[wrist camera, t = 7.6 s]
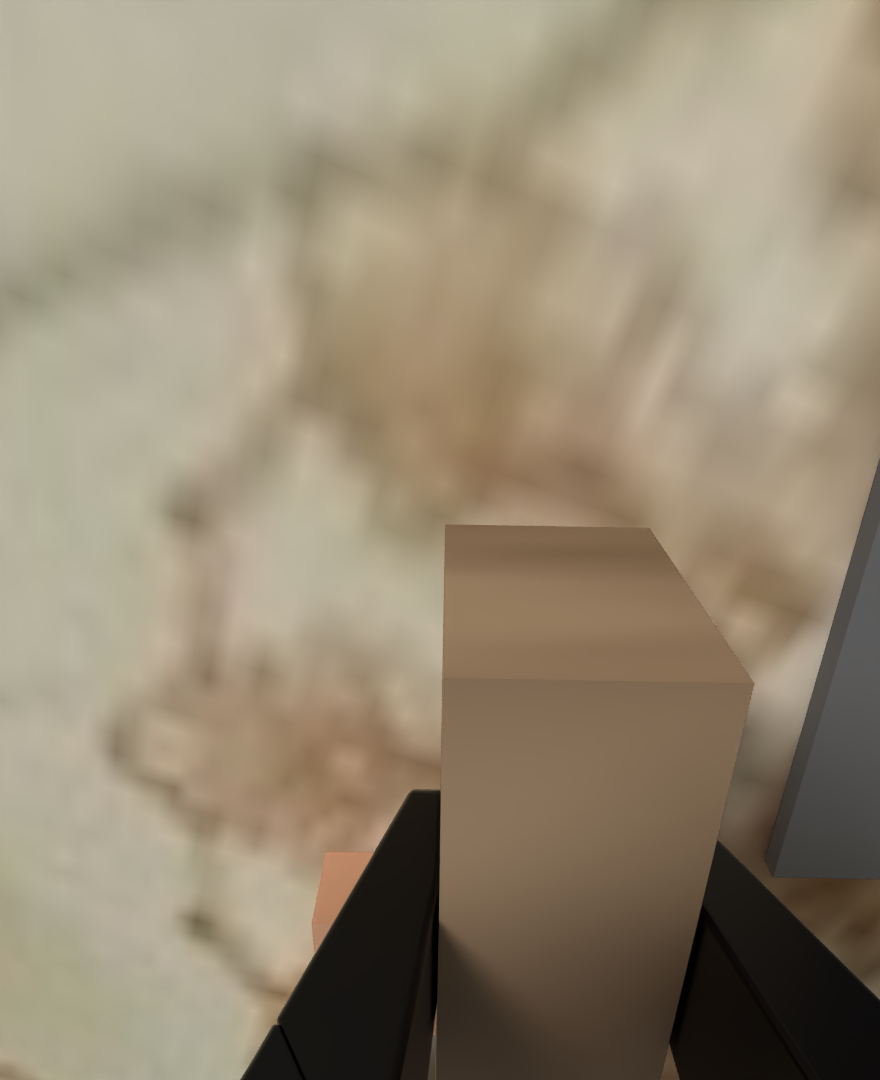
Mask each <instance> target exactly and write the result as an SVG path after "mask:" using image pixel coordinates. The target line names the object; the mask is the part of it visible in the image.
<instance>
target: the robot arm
mask: <svg viewBox="0 0 880 1080" xmlns="http://www.w3.org/2000/svg"><path fill="white" fill-rule="evenodd" d="M440 804H441V791H440V790H430V789H414V790H412V791H411V792H410V793H409V794H408V795H407V797H406V799H405V801H404V802H403V804H402V806H401V807H400V809H399V811H398V812H397V814H396V816H395V818H394V819H393V821H392V823H391V824H390V826H389V828H388V830H387V831H386V833H385V835H384V836H383V838H382V840H381V842H380V843H379V845H378V847H377V848H376V850H375V852H374V854H373V855H372V857H371V859H370V860H369V862H368V864H367V866H366V867H365V869H364V871H363V872H362V874H361V876H360V878H359V879H358V881H357V883H356V884H355V886H354V888H353V890H352V891H351V893H350V895H349V896H348V898H347V900H346V902H345V903H344V905H343V907H342V908H341V910H340V912H339V913H338V915H337V917H336V919H335V920H334V922H333V924H332V925H331V927H330V929H329V931H328V932H327V934H326V936H325V937H324V939H323V941H322V943H321V944H320V946H319V948H318V949H317V951H316V953H315V955H314V956H313V958H312V960H311V961H310V963H309V965H308V967H307V968H306V970H305V972H304V973H303V975H302V977H301V979H300V980H299V982H298V984H297V985H296V987H295V989H294V991H293V992H292V994H291V996H290V997H289V999H288V1001H287V1003H286V1004H285V1006H284V1008H283V1009H282V1011H281V1013H280V1014H279V1016H278V1018H277V1024H278V1025H273V1026H272V1028H271V1029H270V1031H269V1033H268V1034H267V1036H266V1038H265V1040H264V1041H263V1043H262V1045H261V1046H260V1048H259V1050H258V1051H257V1053H256V1055H255V1057H254V1058H253V1060H252V1062H251V1063H250V1065H249V1066H248V1068H247V1070H246V1071H245V1073H244V1074H243V1076H242V1078H241V1079H240V1080H427V1079H428V1071H429V1063H430V1055H431V1047H432V1039H433V1031H434V1023H435V1016H436V1008H437V988H438V936H439V884H440ZM669 1044H670V1047H671V1051H672V1054H673V1058H674V1061H675V1065H676V1068H677V1072H678V1075H679V1079H680V1080H880V1000H879V999H878V998H877V997H876V996H875V995H874V994H873V993H872V992H871V991H870V990H869V989H868V988H867V987H866V986H865V985H864V984H863V983H862V982H861V981H860V980H859V979H858V978H857V977H856V976H855V975H854V974H853V973H852V972H851V971H850V970H849V969H848V968H847V967H846V966H845V965H844V964H843V963H842V962H841V961H840V960H839V959H838V958H837V957H836V956H835V955H834V954H833V953H832V952H831V951H830V950H829V949H828V948H827V947H826V946H825V945H824V944H823V943H822V942H821V941H820V940H819V939H818V938H816V937H815V936H814V935H813V934H812V933H811V932H810V931H809V930H808V929H807V928H806V927H805V926H804V925H803V924H802V923H801V922H800V921H799V920H798V919H797V918H796V917H795V916H794V915H793V914H792V913H791V912H790V911H789V910H788V909H787V908H786V907H785V906H784V905H783V904H782V903H781V902H780V901H779V900H778V899H777V898H776V897H775V896H774V895H773V894H772V893H771V892H770V891H769V890H768V889H767V888H766V887H765V886H764V885H763V884H762V883H761V882H760V881H759V880H758V879H757V878H756V877H755V876H754V875H753V874H752V873H751V872H750V871H749V870H748V869H747V868H746V867H745V866H744V865H743V864H742V863H741V862H740V861H739V860H738V859H737V858H736V857H735V856H734V855H733V854H732V853H731V852H730V851H729V850H728V849H727V848H725V847H724V846H723V845H722V844H721V843H720V842H719V841H718V840H717V842H716V847H715V851H714V855H713V859H712V864H711V868H710V872H709V876H708V880H707V885H706V889H705V893H704V897H703V901H702V906H701V910H700V914H699V918H698V922H697V927H696V931H695V935H694V939H693V944H692V948H691V952H690V956H689V960H688V965H687V969H686V973H685V977H684V981H683V986H682V990H681V994H680V998H679V1002H678V1007H677V1011H676V1015H675V1019H674V1024H673V1028H672V1032H671V1036H670V1040H669Z"/></svg>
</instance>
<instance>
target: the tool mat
mask: <svg viewBox="0 0 880 1080" xmlns="http://www.w3.org/2000/svg"><path fill="white" fill-rule="evenodd" d="M765 862H766V864H767V866H768V868H769V870H770V872H771V874H772V876H773V877H785V878H841V879H880V461H879V465H878V468H877V472H876V475H875V479H874V482H873V486H872V489H871V492H870V496H869V499H868V503H867V506H866V510H865V513H864V517H863V520H862V524H861V527H860V531H859V534H858V538H857V541H856V545H855V548H854V552H853V555H852V559H851V562H850V566H849V569H848V573H847V576H846V579H845V583H844V586H843V590H842V593H841V597H840V600H839V604H838V607H837V611H836V614H835V618H834V621H833V625H832V628H831V632H830V635H829V639H828V642H827V646H826V649H825V653H824V656H823V660H822V663H821V666H820V670H819V673H818V677H817V680H816V684H815V687H814V691H813V694H812V698H811V701H810V705H809V708H808V712H807V715H806V719H805V722H804V726H803V729H802V733H801V736H800V740H799V743H798V747H797V750H796V753H795V757H794V760H793V764H792V767H791V771H790V774H789V778H788V781H787V785H786V788H785V792H784V795H783V799H782V802H781V806H780V809H779V813H778V816H777V820H776V823H775V827H774V830H773V833H772V837H771V840H770V844H769V847H768V851H767V854H766V858H765Z"/></svg>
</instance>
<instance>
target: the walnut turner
mask: <svg viewBox="0 0 880 1080" xmlns="http://www.w3.org/2000/svg"><path fill="white" fill-rule="evenodd" d="M753 687H754V682H753V681H752V679H751V678H750V676H749V675H748V673H747V672H746V670H745V669H744V667H743V666H742V664H741V663H740V661H739V660H738V658H737V657H736V655H735V654H734V653H733V651H732V650H731V648H730V647H729V645H728V644H727V642H726V641H725V639H724V638H723V636H722V635H721V633H720V632H719V630H718V629H717V627H716V626H715V624H714V623H713V621H712V620H711V618H710V617H709V616H708V614H707V613H706V611H705V610H704V608H703V607H702V605H701V604H700V602H699V601H698V599H697V598H696V596H695V595H694V593H693V592H692V590H691V589H690V587H689V586H688V584H687V583H686V581H685V580H684V579H683V577H682V576H681V574H680V573H679V571H678V570H677V568H676V567H675V565H674V564H673V562H672V561H671V559H670V558H669V556H668V555H667V553H666V552H665V550H664V549H663V547H662V546H661V544H660V543H659V542H658V540H657V539H656V537H655V536H654V534H653V533H652V531H651V530H650V528H614V527H555V526H497V525H445V567H444V621H443V674H442V728H441V782H440V791H441V804H440V884H439V936H438V988H437V1008H436V1035H433V1039H432V1047H431V1055H430V1063H429V1071H428V1079H427V1080H660V1078H661V1074H662V1070H663V1066H664V1061H665V1057H666V1053H667V1049H668V1045H669V1040H670V1036H671V1032H672V1028H673V1024H674V1019H675V1015H676V1011H677V1007H678V1002H679V998H680V994H681V990H682V986H683V981H684V977H685V973H686V969H687V965H688V960H689V956H690V952H691V948H692V944H693V939H694V935H695V931H696V927H697V922H698V918H699V914H700V910H701V906H702V901H703V897H704V893H705V889H706V885H707V880H708V876H709V872H710V868H711V864H712V859H713V855H714V851H715V847H716V842H717V838H718V834H719V830H720V826H721V821H722V817H723V813H724V809H725V805H726V800H727V796H728V792H729V788H730V784H731V779H732V775H733V771H734V767H735V762H736V758H737V754H738V750H739V746H740V741H741V737H742V733H743V729H744V725H745V720H746V716H747V712H748V708H749V703H750V699H751V695H752V691H753Z"/></svg>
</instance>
